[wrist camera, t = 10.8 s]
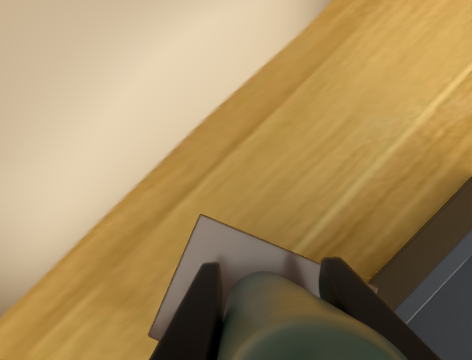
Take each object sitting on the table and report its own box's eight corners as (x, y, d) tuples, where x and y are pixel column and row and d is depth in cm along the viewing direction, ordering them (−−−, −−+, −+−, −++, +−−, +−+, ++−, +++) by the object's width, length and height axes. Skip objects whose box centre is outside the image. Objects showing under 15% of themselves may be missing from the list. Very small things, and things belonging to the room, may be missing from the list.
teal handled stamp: (347, 278, 15) (798, 402, 3) (312, 380, 14) (710, 1060, 2) (207, 220, 15) (111, 125, 3) (166, 316, 14) (-132, 620, 3)
